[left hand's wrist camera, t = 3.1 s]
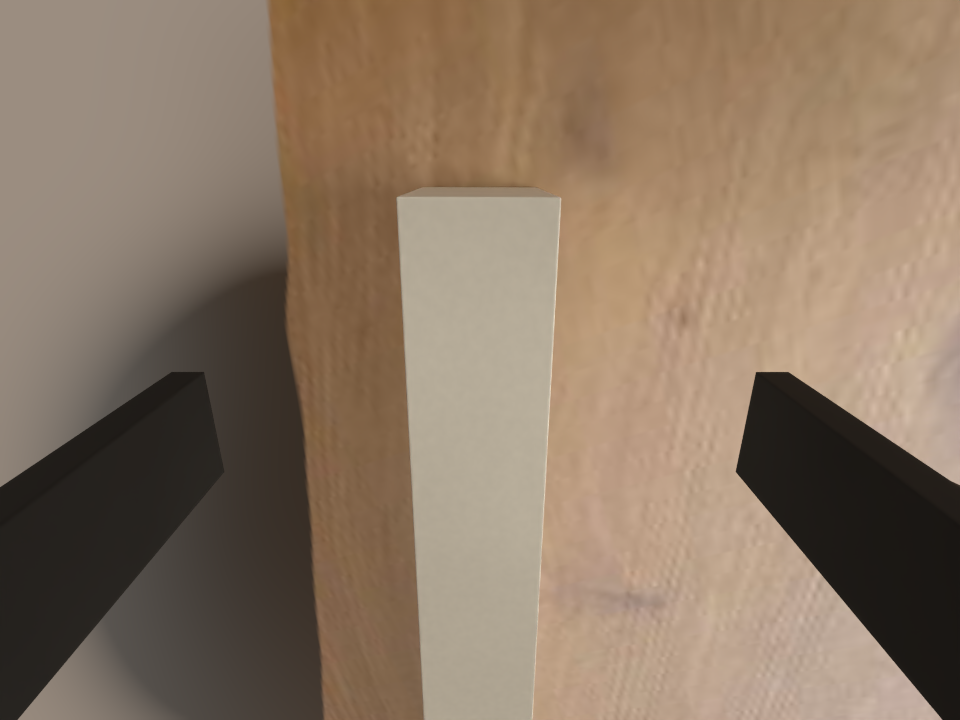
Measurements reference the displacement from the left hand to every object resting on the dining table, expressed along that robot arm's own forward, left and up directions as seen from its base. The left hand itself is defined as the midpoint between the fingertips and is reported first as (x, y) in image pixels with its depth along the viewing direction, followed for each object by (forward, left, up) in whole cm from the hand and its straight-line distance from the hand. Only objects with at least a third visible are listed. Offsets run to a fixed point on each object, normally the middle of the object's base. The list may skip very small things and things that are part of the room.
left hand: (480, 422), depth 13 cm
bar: (+29, +6, -15) cm, 33 cm away
